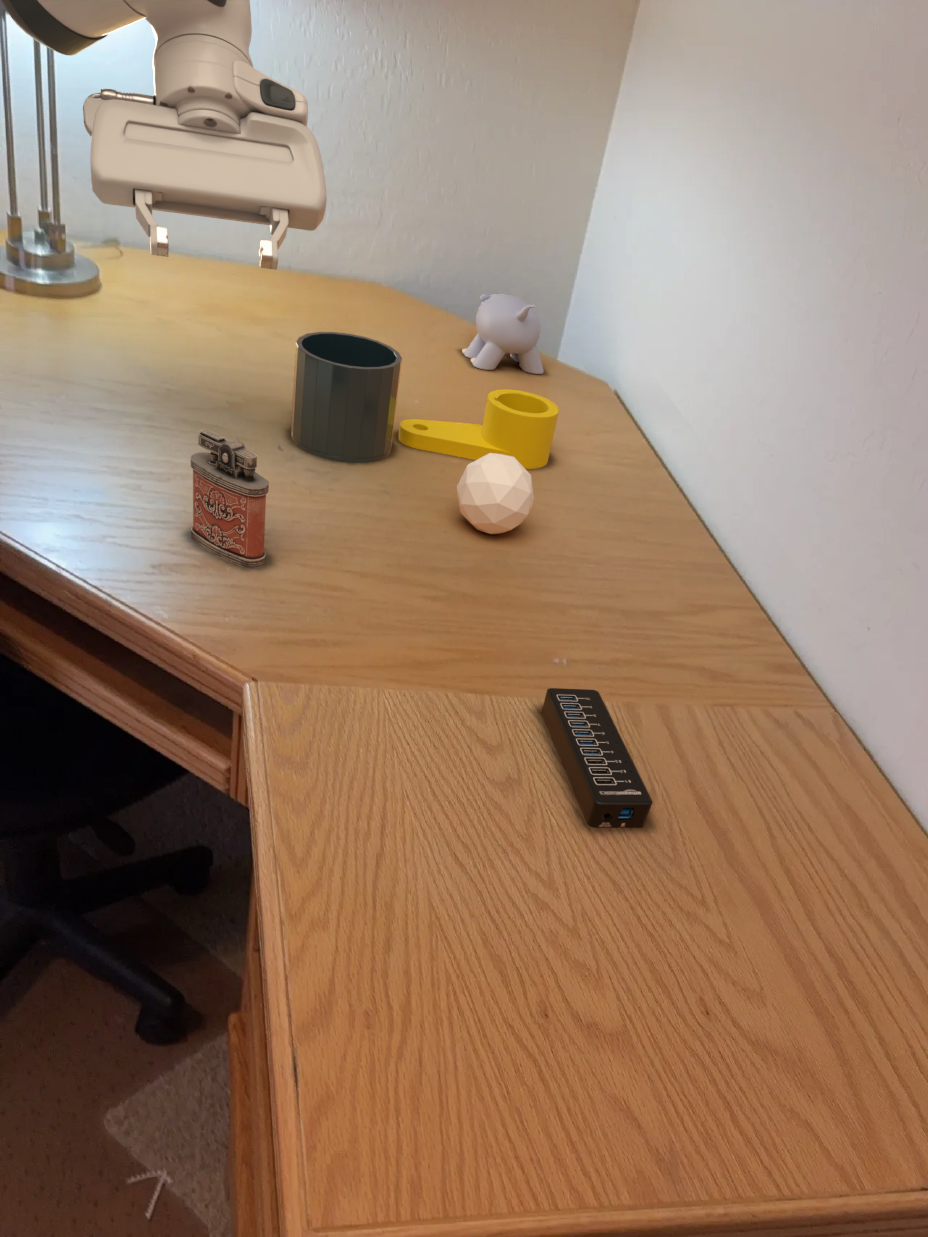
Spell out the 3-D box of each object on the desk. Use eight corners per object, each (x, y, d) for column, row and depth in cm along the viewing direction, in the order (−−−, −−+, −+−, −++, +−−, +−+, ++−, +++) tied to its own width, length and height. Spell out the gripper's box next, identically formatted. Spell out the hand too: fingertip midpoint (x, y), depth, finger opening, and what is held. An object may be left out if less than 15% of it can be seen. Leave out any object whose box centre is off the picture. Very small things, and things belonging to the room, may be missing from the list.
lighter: (273, 561, 96) (279, 453, 89) (247, 572, 94) (251, 461, 87) (209, 528, 99) (209, 420, 92) (182, 537, 96) (180, 427, 90)
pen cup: (298, 459, 114) (304, 362, 107) (285, 419, 121) (289, 326, 115) (399, 466, 117) (411, 373, 111) (380, 427, 125) (390, 337, 118)
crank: (541, 445, 130) (552, 395, 126) (552, 472, 124) (564, 421, 120) (396, 425, 126) (402, 373, 122) (400, 452, 120) (407, 398, 116)
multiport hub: (591, 712, 86) (598, 688, 85) (645, 828, 76) (654, 803, 75) (539, 710, 85) (545, 686, 84) (588, 828, 75) (596, 803, 73)
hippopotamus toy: (517, 345, 159) (530, 275, 153) (551, 381, 149) (566, 308, 143) (449, 338, 156) (459, 267, 149) (480, 375, 146) (492, 300, 139)
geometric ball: (504, 556, 111) (558, 515, 106) (447, 537, 106) (501, 492, 100) (489, 494, 113) (542, 451, 108) (433, 472, 108) (485, 425, 102)
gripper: (79, 57, 88) (88, 221, 87) (324, 98, 94) (334, 251, 94) (83, 111, 94) (92, 265, 93) (313, 147, 100) (322, 291, 100)
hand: (215, 258), depth 94 cm, fingers open, 8 cm apart
